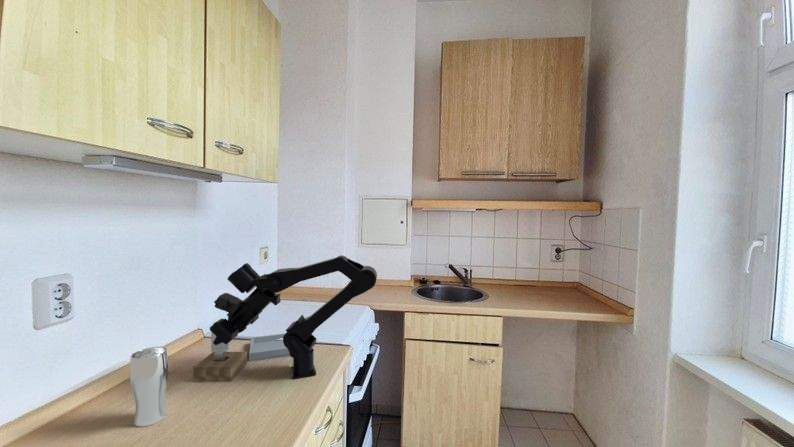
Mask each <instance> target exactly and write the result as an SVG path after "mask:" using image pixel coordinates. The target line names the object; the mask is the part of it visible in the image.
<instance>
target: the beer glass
mask: <svg viewBox="0 0 794 447" xmlns="http://www.w3.org/2000/svg"><path fill="white" fill-rule="evenodd" d="M129 357H130V361H129V362H130V363H129V383H130V388H131V389H130V390H131V392H132V395H133V396H132V397H133V400H134V405H135V412H134V417H133V425H134V426H135V427H140V428H141V427H142V428H145V427H149V426H152V425H155V424H157V423H159V422H161V421H163V420H164V419H165V418H166V417H167V415H168V408H167V405H166V391H167V385H168V380H169V379H168V378H169V372H170V371H169V365H170V364H169V355H168V348H167V347H165V346H152V347H151V346H150V347H147V348H143V349H140V350H137V351H134V352H133V353H132V354H130V356H129Z"/></svg>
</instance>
